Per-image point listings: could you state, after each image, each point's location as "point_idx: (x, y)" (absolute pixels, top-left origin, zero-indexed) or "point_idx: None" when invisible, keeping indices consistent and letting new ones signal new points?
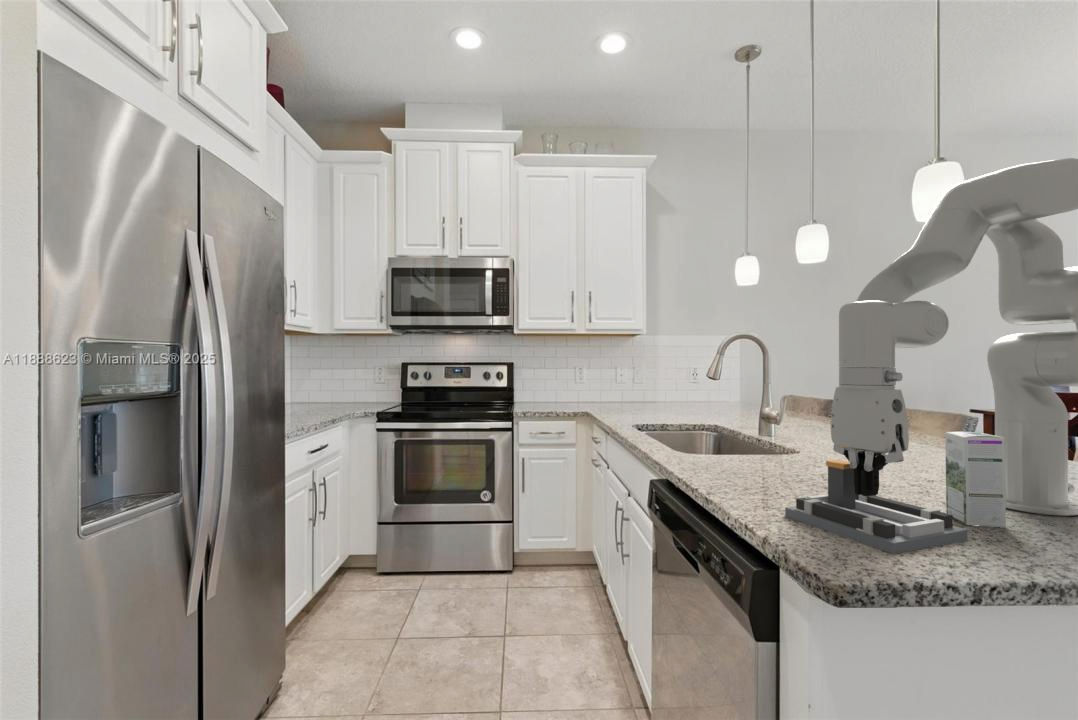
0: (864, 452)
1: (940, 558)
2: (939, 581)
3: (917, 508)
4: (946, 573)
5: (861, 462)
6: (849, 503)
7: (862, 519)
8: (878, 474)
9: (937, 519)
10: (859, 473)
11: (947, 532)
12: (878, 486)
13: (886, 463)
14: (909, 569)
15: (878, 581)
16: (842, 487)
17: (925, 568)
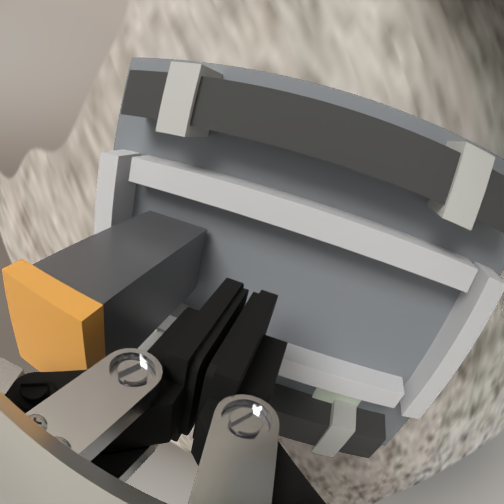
0: (93, 455)
1: (463, 387)
2: (444, 467)
3: (422, 178)
4: (459, 440)
5: (145, 434)
6: (190, 268)
7: (308, 442)
8: (267, 402)
9: (491, 285)
10: (191, 426)
11: (498, 268)
12: (283, 352)
13: (309, 496)
14: (410, 461)
15: (374, 501)
16: (150, 332)
17: (432, 444)
